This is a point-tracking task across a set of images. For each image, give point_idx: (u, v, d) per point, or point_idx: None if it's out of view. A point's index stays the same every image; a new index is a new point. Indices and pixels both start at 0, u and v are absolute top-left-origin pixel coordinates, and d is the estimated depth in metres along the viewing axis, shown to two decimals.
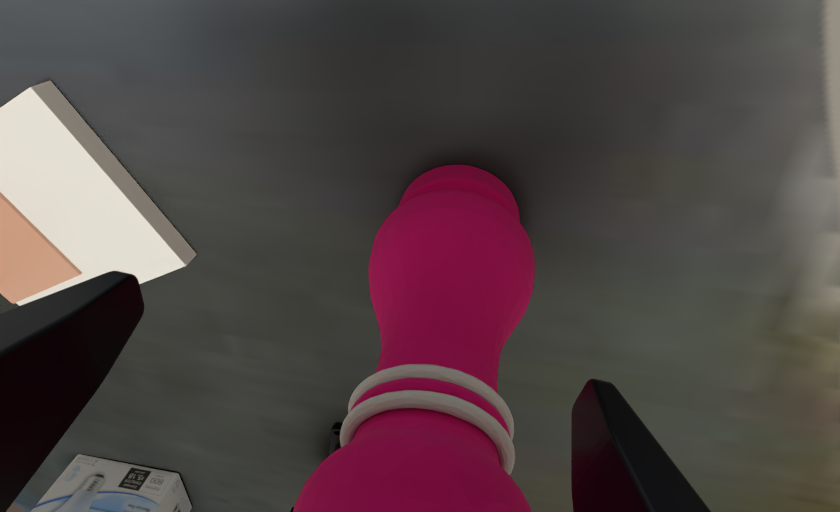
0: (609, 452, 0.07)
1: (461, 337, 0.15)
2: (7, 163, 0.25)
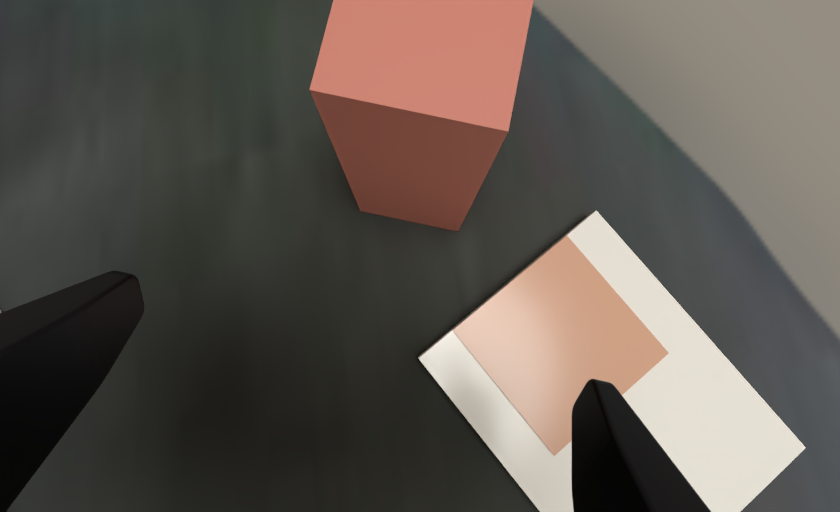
0: (609, 452, 0.07)
1: None
2: (696, 391, 0.21)
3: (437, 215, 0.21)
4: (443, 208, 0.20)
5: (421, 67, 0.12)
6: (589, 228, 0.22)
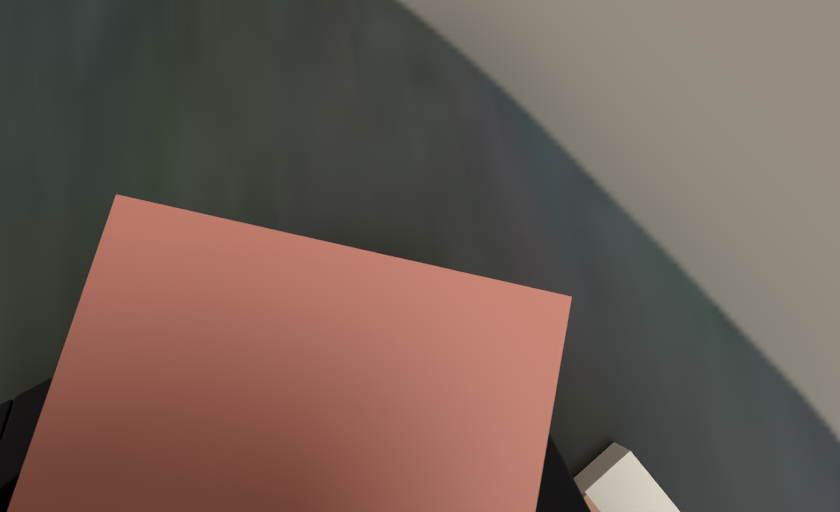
0: None
1: None
2: None
3: None
4: None
5: None
6: (620, 479, 0.15)
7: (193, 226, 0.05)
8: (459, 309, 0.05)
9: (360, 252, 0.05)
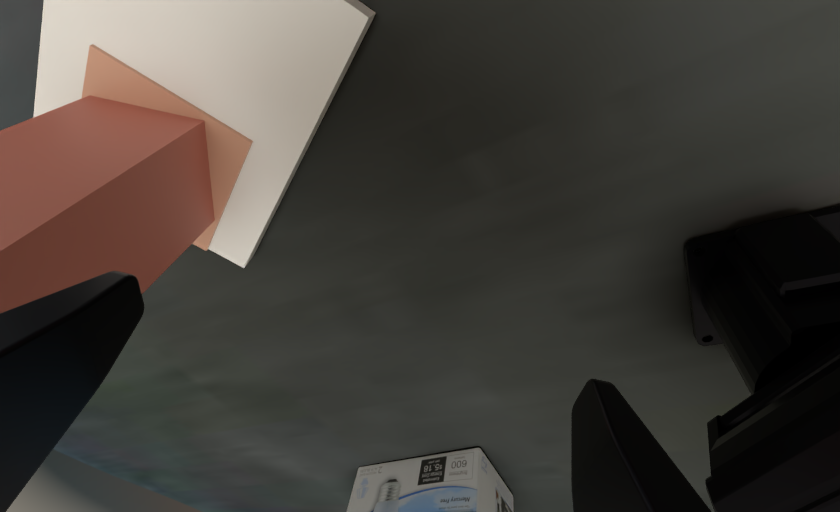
0: (609, 452, 0.07)
1: None
2: None
3: (176, 169, 0.18)
4: (154, 180, 0.17)
5: None
6: None
7: None
8: None
9: None
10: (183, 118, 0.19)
